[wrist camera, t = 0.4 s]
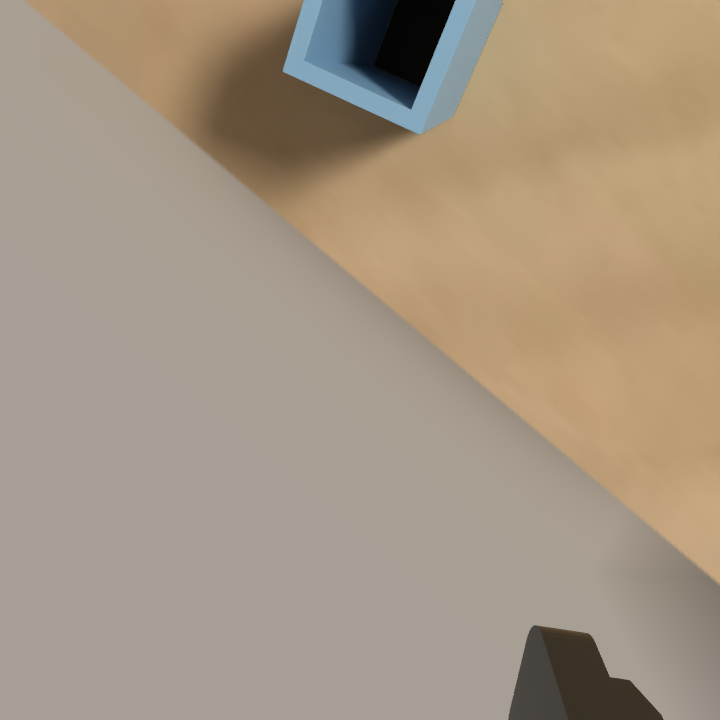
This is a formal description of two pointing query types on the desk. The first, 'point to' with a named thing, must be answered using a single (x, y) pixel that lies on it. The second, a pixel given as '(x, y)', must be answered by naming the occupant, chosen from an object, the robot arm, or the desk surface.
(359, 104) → the sleeve
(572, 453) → the desk surface
